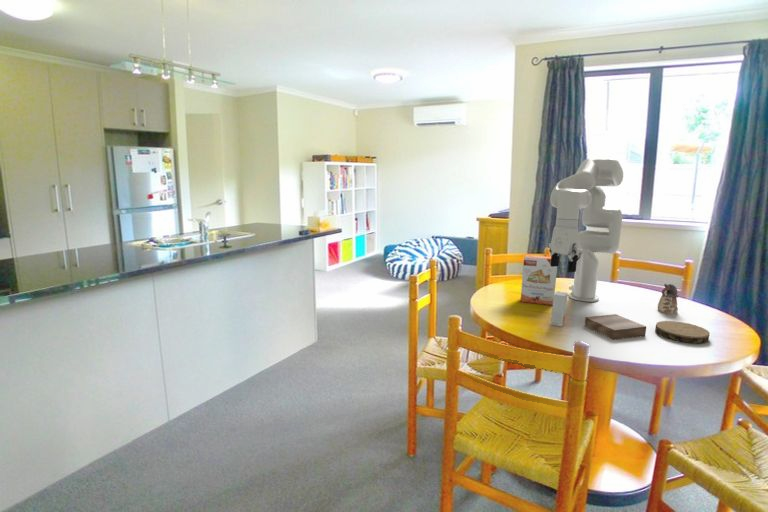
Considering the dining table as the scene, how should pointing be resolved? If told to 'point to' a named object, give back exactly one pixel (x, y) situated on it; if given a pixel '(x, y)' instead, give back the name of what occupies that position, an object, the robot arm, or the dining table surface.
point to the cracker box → (538, 280)
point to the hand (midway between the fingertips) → (562, 269)
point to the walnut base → (615, 326)
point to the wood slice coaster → (682, 332)
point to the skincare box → (559, 308)
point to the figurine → (668, 300)
